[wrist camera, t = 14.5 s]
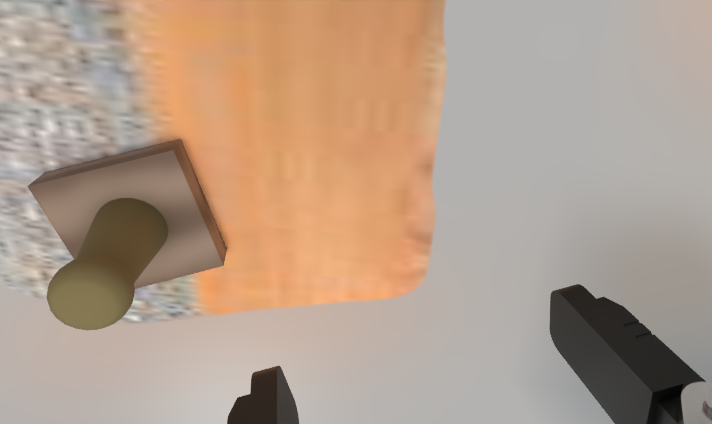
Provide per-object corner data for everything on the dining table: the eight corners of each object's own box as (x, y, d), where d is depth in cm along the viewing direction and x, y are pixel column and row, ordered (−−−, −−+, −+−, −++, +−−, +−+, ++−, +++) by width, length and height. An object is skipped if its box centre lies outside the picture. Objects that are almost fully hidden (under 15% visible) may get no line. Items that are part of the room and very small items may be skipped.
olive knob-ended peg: (95, 253, 38) (34, 341, 29) (92, 193, 36) (25, 267, 26) (167, 260, 40) (132, 346, 30) (169, 202, 37) (132, 276, 28)
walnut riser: (45, 172, 37) (27, 186, 35) (180, 139, 38) (173, 150, 35) (109, 279, 43) (99, 298, 41) (226, 249, 44) (223, 265, 41)
